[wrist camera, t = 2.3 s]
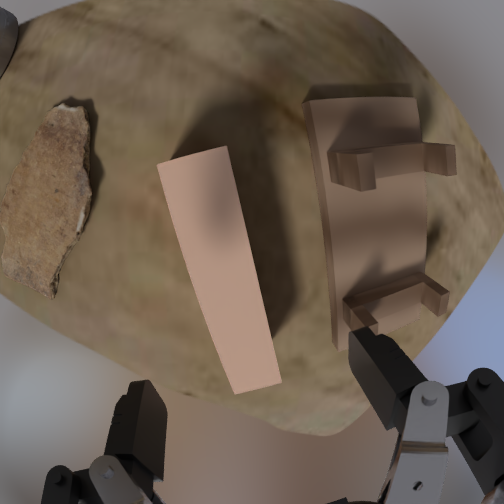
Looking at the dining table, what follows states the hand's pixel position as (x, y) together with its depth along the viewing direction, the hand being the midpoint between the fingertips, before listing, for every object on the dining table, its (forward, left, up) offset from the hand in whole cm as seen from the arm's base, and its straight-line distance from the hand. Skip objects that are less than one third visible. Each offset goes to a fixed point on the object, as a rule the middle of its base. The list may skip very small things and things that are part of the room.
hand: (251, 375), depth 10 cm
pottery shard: (-12, +8, -12) cm, 19 cm away
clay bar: (0, 0, -11) cm, 11 cm away
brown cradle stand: (+12, 0, -11) cm, 16 cm away
